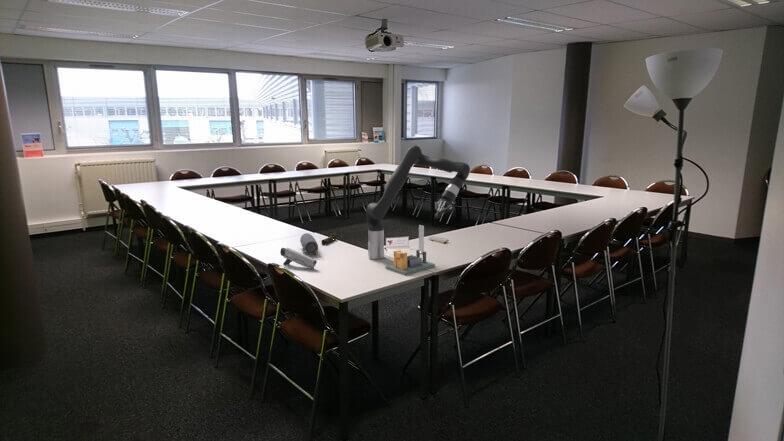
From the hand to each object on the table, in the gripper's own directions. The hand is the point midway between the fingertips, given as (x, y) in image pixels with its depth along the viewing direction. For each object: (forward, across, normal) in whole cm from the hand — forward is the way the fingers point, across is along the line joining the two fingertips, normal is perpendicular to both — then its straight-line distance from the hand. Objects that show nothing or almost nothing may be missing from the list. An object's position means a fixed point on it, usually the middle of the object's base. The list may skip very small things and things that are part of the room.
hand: (436, 217), depth 268 cm
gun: (+64, +46, +30) cm, 84 cm away
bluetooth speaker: (+51, +69, +12) cm, 86 cm away
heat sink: (+31, -1, -1) cm, 31 cm away
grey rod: (+22, 0, -3) cm, 22 cm away
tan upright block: (+37, 0, +5) cm, 37 cm away
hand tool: (+36, +80, -8) cm, 88 cm away
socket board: (+33, -1, -2) cm, 33 cm away
